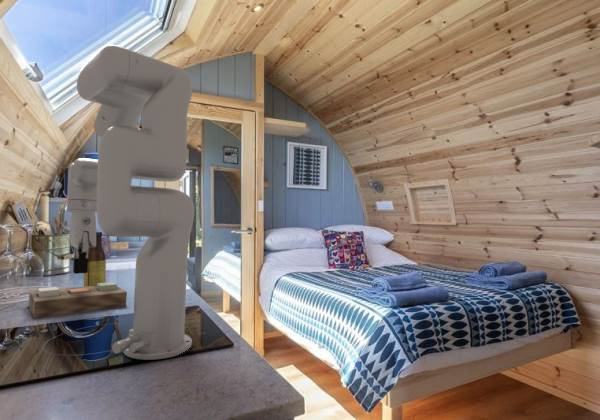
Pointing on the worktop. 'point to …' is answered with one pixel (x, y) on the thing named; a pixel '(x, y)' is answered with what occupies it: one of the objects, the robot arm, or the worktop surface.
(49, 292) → the cream button
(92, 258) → the sauce bottle
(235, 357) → the worktop surface
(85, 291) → the terracotta button
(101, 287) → the sage button
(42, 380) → the worktop surface
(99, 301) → the button panel
